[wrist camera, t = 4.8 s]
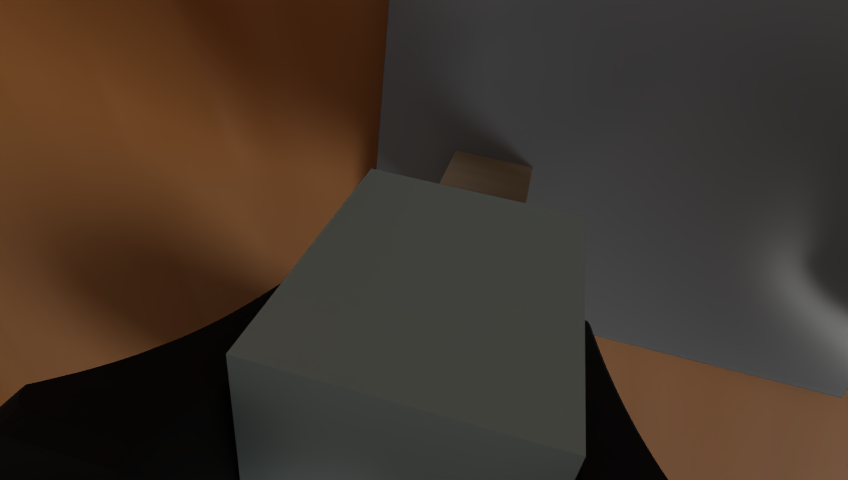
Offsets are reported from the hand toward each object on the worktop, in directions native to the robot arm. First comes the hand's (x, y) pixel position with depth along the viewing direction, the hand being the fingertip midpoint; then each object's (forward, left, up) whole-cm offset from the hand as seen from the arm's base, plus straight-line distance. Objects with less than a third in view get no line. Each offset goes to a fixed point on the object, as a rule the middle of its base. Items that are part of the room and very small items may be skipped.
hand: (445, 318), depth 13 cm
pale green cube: (0, 0, -2) cm, 2 cm away
